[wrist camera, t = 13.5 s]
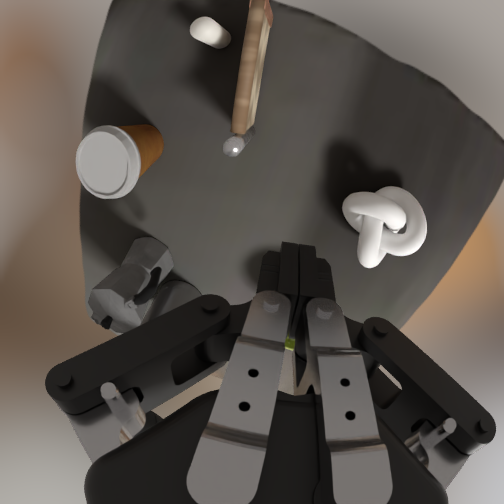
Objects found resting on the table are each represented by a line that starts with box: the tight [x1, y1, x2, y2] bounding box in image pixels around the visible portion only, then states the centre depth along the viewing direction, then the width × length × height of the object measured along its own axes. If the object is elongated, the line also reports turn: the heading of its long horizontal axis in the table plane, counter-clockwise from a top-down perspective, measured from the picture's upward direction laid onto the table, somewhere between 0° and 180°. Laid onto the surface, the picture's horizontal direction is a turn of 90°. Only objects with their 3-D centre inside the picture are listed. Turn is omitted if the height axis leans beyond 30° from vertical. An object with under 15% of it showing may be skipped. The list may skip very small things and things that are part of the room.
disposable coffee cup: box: [76, 124, 164, 199], centre depth 35 cm, size 10×10×12 cm
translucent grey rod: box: [223, 126, 256, 157], centre depth 32 cm, size 2×2×12 cm
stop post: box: [190, 17, 231, 49], centre depth 27 cm, size 3×3×8 cm
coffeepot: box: [88, 237, 174, 333], centre depth 43 cm, size 15×9×18 cm, turn 122°
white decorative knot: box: [342, 186, 427, 268], centre depth 37 cm, size 11×12×9 cm
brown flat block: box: [230, 0, 273, 134], centre depth 28 cm, size 16×2×10 cm, turn 172°
